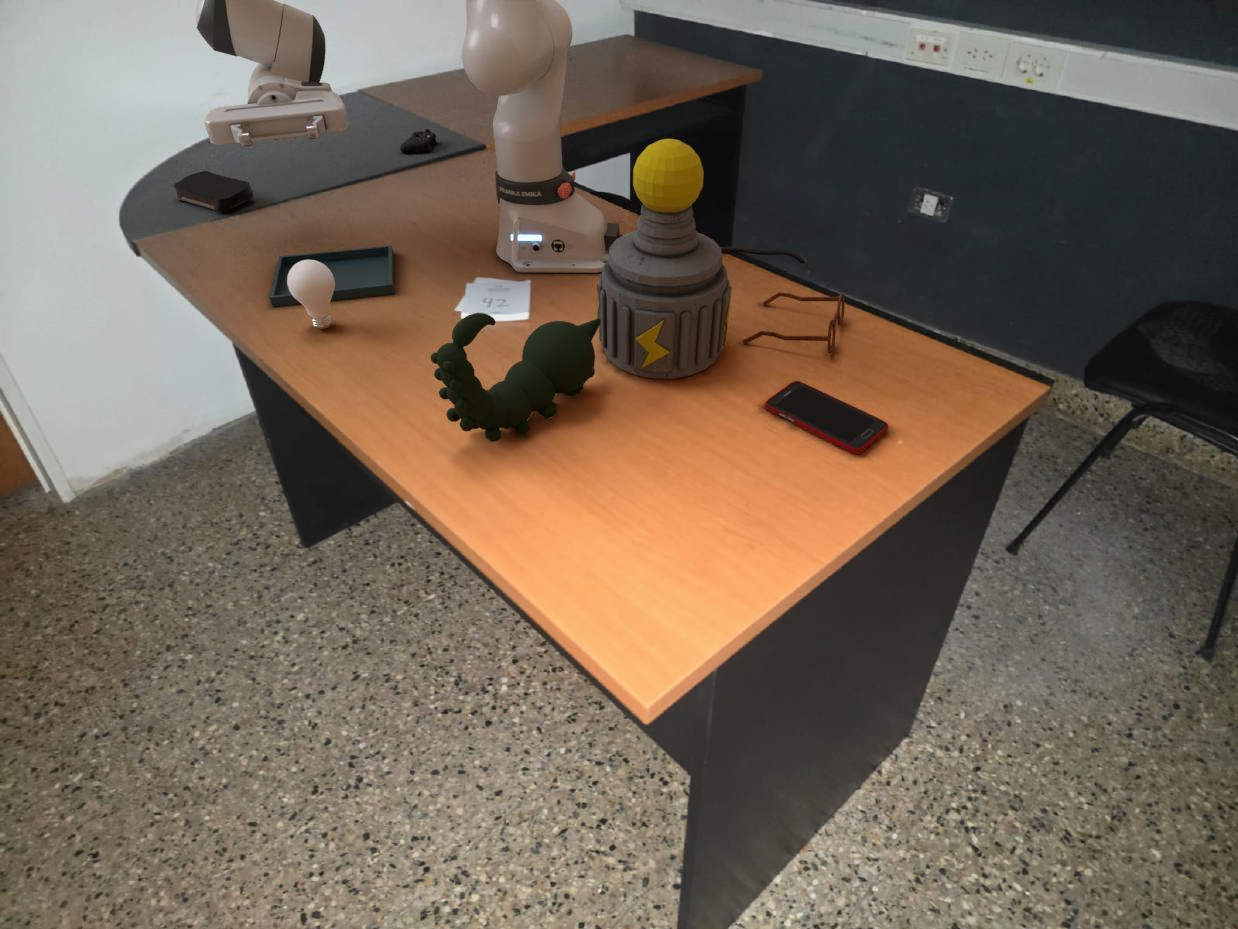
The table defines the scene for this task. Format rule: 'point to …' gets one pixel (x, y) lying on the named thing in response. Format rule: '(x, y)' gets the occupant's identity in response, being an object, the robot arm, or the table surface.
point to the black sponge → (213, 191)
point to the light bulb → (313, 290)
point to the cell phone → (827, 417)
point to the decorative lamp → (664, 275)
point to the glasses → (808, 338)
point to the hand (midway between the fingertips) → (279, 136)
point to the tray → (342, 273)
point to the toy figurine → (515, 375)
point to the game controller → (419, 141)
